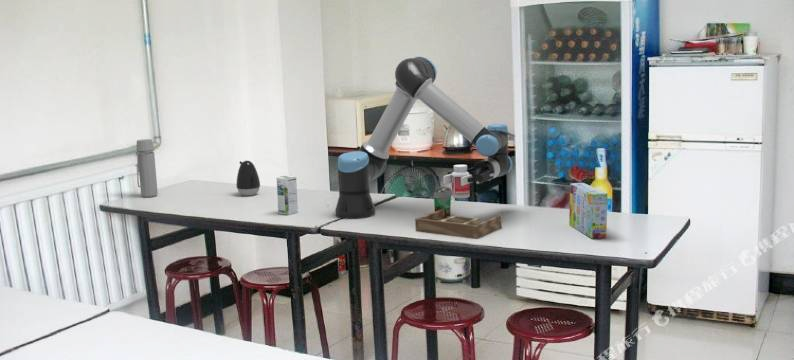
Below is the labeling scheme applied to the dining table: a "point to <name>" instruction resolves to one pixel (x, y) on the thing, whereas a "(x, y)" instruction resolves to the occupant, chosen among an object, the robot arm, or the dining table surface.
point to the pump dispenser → (247, 179)
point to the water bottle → (146, 168)
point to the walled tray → (456, 225)
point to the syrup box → (287, 195)
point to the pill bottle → (457, 189)
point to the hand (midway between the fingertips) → (453, 180)
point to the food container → (443, 200)
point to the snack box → (588, 210)
